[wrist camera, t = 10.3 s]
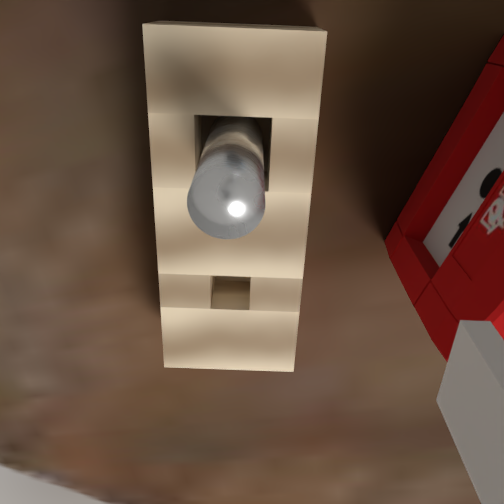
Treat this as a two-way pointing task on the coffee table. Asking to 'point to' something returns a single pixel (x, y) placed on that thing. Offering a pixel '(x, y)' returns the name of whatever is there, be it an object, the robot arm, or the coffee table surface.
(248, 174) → the pin
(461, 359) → the robot arm
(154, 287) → the coffee table surface
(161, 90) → the bore block
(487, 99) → the fire alarm
